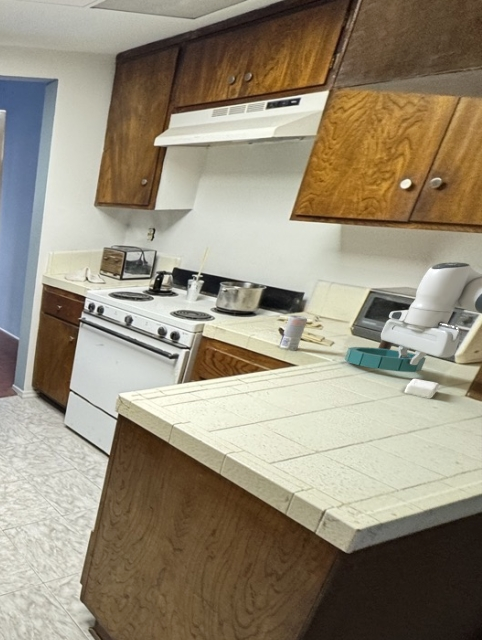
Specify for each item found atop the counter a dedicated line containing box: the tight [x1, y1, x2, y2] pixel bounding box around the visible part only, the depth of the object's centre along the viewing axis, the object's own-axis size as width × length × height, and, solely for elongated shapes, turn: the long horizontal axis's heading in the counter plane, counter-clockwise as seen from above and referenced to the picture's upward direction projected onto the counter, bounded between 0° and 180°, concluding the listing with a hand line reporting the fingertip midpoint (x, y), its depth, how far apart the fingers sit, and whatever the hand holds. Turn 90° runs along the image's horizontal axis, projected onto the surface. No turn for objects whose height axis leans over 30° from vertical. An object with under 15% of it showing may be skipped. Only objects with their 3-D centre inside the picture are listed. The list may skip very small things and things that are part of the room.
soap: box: [404, 378, 440, 399], centre depth 133 cm, size 9×6×3 cm, turn 127°
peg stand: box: [377, 339, 394, 350], centre depth 165 cm, size 7×7×6 cm
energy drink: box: [278, 315, 308, 351], centre depth 173 cm, size 5×5×12 cm
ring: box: [344, 346, 426, 373], centre depth 152 cm, size 17×17×4 cm
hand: (406, 362), depth 145 cm, fingers closed on ring, 2 cm apart
